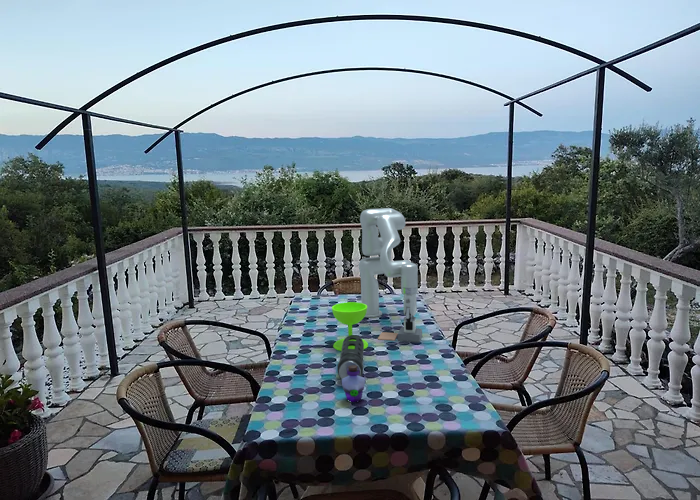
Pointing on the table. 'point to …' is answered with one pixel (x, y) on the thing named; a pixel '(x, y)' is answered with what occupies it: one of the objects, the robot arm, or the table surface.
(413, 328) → the plug
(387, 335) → the mat
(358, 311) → the wineglass
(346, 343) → the muzzle brake
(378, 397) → the table surface
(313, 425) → the table surface
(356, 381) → the potion bottle
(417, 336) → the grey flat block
